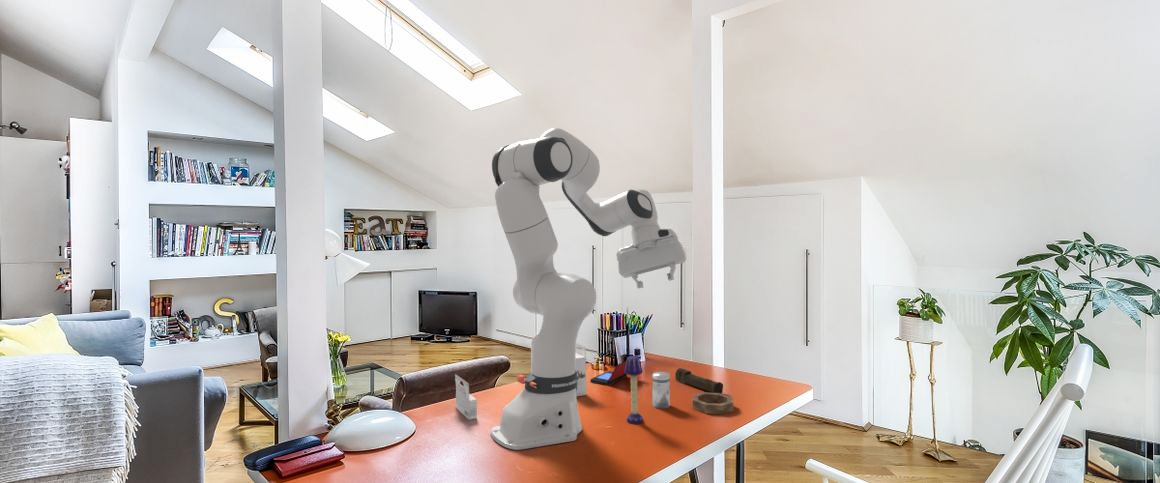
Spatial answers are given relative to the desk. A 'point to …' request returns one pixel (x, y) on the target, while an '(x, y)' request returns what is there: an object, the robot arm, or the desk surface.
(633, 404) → the toy lamp
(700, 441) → the desk surface
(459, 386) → the ink cartridge box
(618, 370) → the handheld game console
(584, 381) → the ink box
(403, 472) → the desk surface
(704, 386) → the hand tool
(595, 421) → the desk surface
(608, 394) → the desk surface
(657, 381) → the cylinder
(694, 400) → the walnut ring
